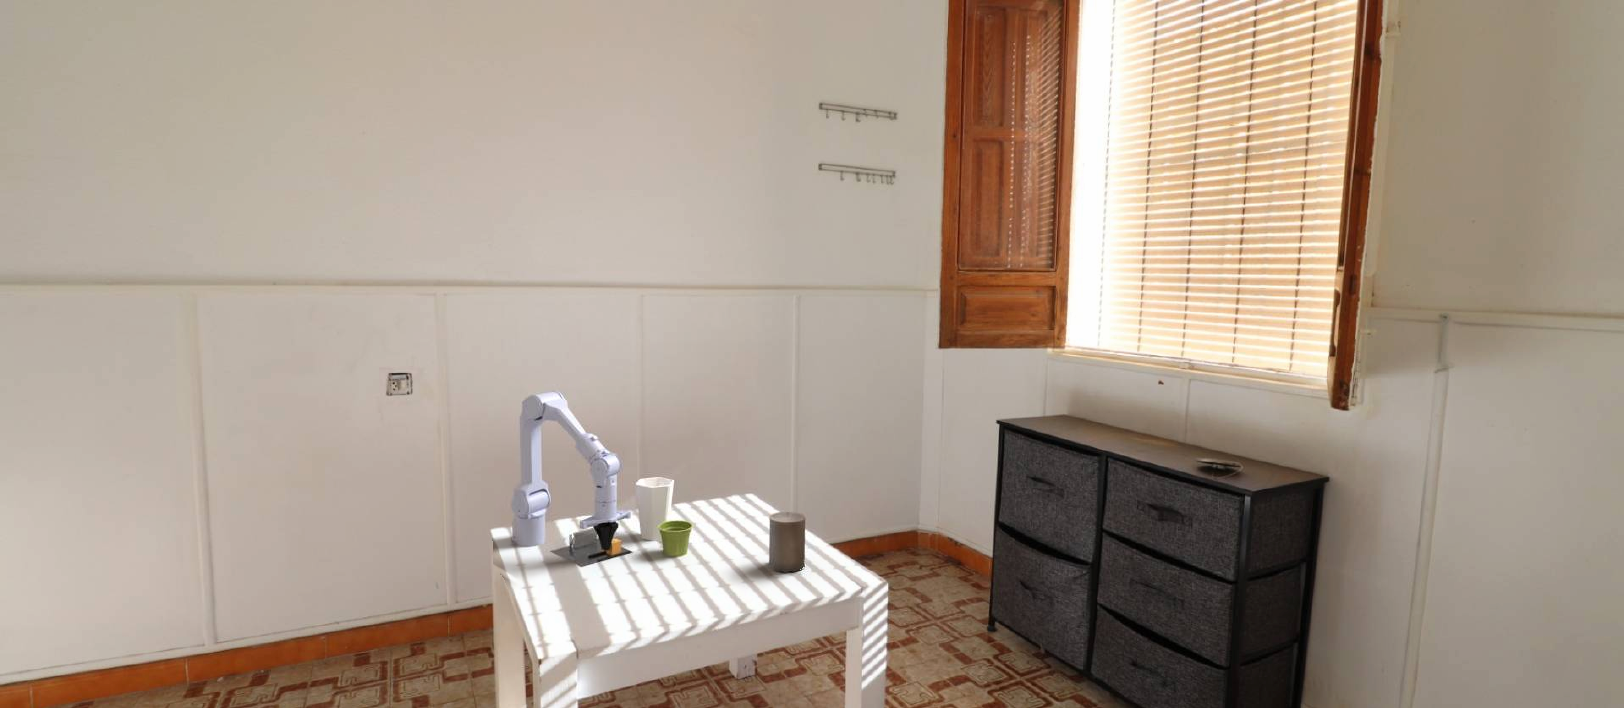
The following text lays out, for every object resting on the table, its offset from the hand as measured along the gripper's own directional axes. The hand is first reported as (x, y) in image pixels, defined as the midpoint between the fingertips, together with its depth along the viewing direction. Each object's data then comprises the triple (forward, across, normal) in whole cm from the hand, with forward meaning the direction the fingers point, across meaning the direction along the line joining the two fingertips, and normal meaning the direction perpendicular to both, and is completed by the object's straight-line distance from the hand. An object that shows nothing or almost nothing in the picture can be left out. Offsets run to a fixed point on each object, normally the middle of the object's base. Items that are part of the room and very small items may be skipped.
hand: (605, 549), depth 213 cm
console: (+3, -1, +6) cm, 6 cm away
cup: (+3, +19, +5) cm, 20 cm away
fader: (+2, +2, 0) cm, 3 cm away
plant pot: (+3, +15, -10) cm, 19 cm away
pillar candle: (+3, +32, -36) cm, 49 cm away
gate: (+2, +1, +11) cm, 11 cm away
